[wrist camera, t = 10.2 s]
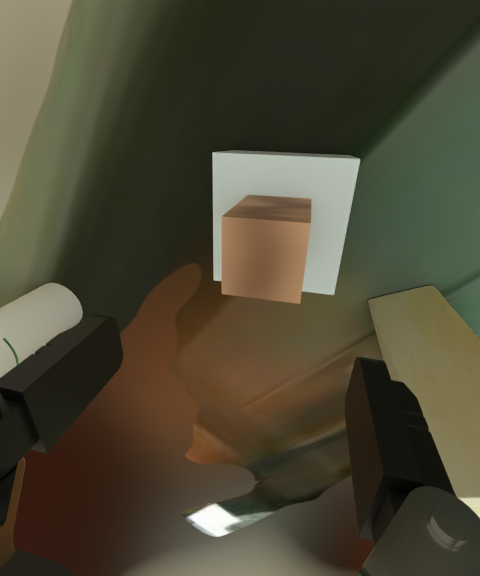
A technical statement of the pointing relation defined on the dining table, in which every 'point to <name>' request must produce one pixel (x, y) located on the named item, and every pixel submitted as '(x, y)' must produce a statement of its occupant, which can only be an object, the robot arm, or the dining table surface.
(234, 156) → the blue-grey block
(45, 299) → the cylindrical container
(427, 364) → the tall beige block
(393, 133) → the dining table surface
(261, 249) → the terracotta block
